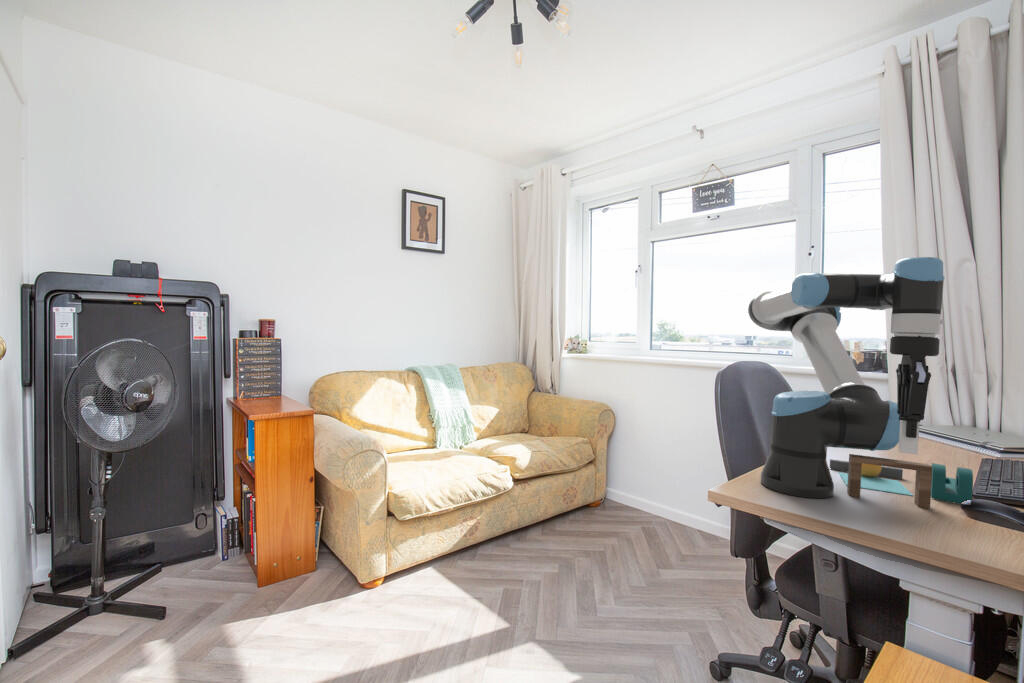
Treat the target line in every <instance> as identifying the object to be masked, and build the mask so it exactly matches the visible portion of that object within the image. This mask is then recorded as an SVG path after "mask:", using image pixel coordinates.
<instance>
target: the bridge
mask: <svg viewBox="0 0 1024 683" xmlns="http://www.w3.org/2000/svg"><path fill="white" fill-rule="evenodd" d="M870 456H871V455H861V454H852V453H849V454H848V462H849V468H848V472H847V473H848V486H846V487H847V488H846V489H847V490H846V492H847V495H848V496H849V497H854V498H860V497H861V488H860V487H861V475H862V474H861V470H862V463H864V464H872V465H879V466H886V467H893V468H901V469H902V470H911V471H915V481H914V482H915V483H914V485H915V486H914V496H913V497H914V500H913V501H914V502H913V503H914V504H915V505H916V506H917V507H918V508H922V507H923V508H922V509H928V508H930V509H931V500H932V499H931V483H932V466H931V465H930V464H929V463H923V462H915V461H910V460H909V461H908V460H902V459H893V458H886V457H885V458H884V457H877V456H876V457H875V456H871V457H870Z"/></svg>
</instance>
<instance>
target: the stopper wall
mask: <svg viewBox="0 0 1024 683" xmlns="http://www.w3.org/2000/svg"><path fill="white" fill-rule="evenodd" d="M829 467H830V468H831V469H830V468H829V469H830V470H833V469H837V470H836V471H840V470H843V471H842V472H847V471H848V468H849V460H848V461H847V460H840V459H832V458H830V459H829ZM903 470H904V469H902V468H895V467H887V466H881V472H880V474H879V475H877V476H876V477H882V478H883V477H884V478H889V479H897V480H898V479H899V480H903Z"/></svg>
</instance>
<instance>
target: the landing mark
mask: <svg viewBox="0 0 1024 683" xmlns="http://www.w3.org/2000/svg"><path fill="white" fill-rule="evenodd" d="M837 473H838V474H840V475H839V476H840V478H841V479H842V481H843V482H844V485H846V487H847V486H848V472H847V473H846V472H842V471H838V472H837ZM860 489H864V490H871V491H878V492H884V493H892V494H897V495H898V494H899V495H903V496H911V497H914V494H913V493H911V491H910V490H909V489H907V487H906V486H905V485H904V484H902V483H901V481H900V480H898V479H897V480H894V479H891V478H889V479H888V478H883V477H877V476H875V477H866V476H863V475H862V474H861V487H860Z"/></svg>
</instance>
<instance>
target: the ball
mask: <svg viewBox="0 0 1024 683" xmlns="http://www.w3.org/2000/svg"><path fill="white" fill-rule="evenodd" d="M869 456H870V457H872V456H871V455H869ZM880 472H881V466H879V465H872V464H864V463H862V470H861V475H862V476H866V477H878V476H877V475H879V474H880Z"/></svg>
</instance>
